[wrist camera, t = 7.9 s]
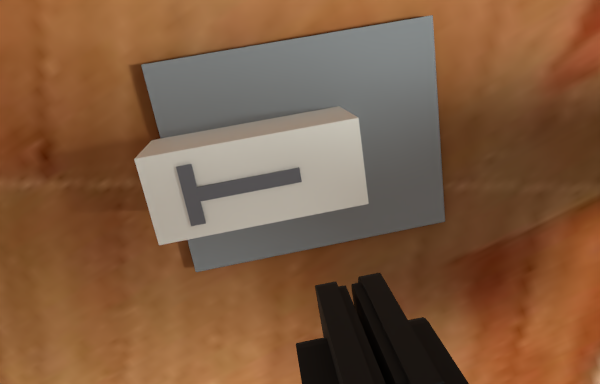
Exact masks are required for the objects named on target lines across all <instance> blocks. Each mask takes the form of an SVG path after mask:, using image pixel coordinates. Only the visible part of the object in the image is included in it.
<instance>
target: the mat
mask: <svg viewBox="0 0 600 384" xmlns="http://www.w3.org/2000/svg"><path fill="white" fill-rule="evenodd" d="M141 66H142V70H143V74H144V78H145V82H146V85H147V89H148V93H149V97H150V101H151V104H152V108H153V112H154V116H155V119H156V123H157V127H158V131H159V135H160V138H167V137H172V136H178V135H183V134H189V133H194V132H200V131H205V130H211V129H216V128H222V127H227V126H233V125H238V124H244V123H249V122H255V121H260V120H266V119H271V118H277V117H282V116H288V115H293V114H299V113H305V112H310V111H316V110H321V109H327V108H332V107H338V106H340V107H341V108H343V109H345V110H346V111H348V112H350V113H351V114H353V115H355V116H356V117H358V118H359V126H360V134H361V143H362V151H363V160H364V168H365V177H366V185H367V194H368V202H369V204H366V205H360V206H355V207H350V208H345V209H340V210H335V211H330V212H325V213H320V214H315V215H310V216H305V217H300V218H295V219H290V220H285V221H280V222H275V223H269V224H264V225H259V226H254V227H249V228H244V229H239V230H234V231H229V232H224V233H219V234H214V235H209V236H204V237H199V238H194V239H189V240H187V241H188V244H189V248H190V252H191V256H192V260H193V263H194V267H195V271H196V272H199V271H204V270H209V269H214V268H219V267H224V266H229V265H234V264H239V263H244V262H249V261H254V260H258V259H263V258H268V257H273V256H278V255H283V254H288V253H293V252H298V251H303V250H308V249H313V248H318V247H323V246H327V245H332V244H337V243H342V242H347V241H352V240H357V239H362V238H367V237H372V236H377V235H382V234H387V233H391V232H396V231H401V230H406V229H411V228H416V227H421V226H426V225H431V224H436V223H441V222H445V211H444V194H443V178H442V162H441V145H440V129H439V112H438V96H437V80H436V63H435V47H434V30H433V15H432V16H426V17H420V18H414V19H408V20H402V21H396V22H390V23H384V24H378V25H372V26H367V27H361V28H355V29H349V30H343V31H337V32H331V33H325V34H319V35H313V36H308V37H302V38H296V39H290V40H284V41H278V42H272V43H266V44H260V45H254V46H249V47H243V48H237V49H231V50H225V51H219V52H213V53H207V54H201V55H196V56H190V57H184V58H178V59H172V60H166V61H160V62H154V63H148V64H142V65H141Z"/></svg>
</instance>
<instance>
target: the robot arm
mask: <svg viewBox="0 0 600 384" xmlns="http://www.w3.org/2000/svg"><path fill="white" fill-rule="evenodd" d="M315 288H316V295H317V301H318V307H319V313H320V318H321V324H322V330H323V336H324V338H320V339H315V340H310V341H305V342H300V343H296V348H297V355H298V361H299V367H300V374H301V380H302V384H469V383H468V382H467V380H466V379H465V377H464V376H463V374H462V373H461V371H460V370H459V368H458V367H457V365H456V363H455V362H454V360H453V359H452V357H451V356H450V354H449V353H448V351H447V350H446V348H445V347H444V345H443V344H442V342H441V341H440V339H439V337H438V336H437V334H436V333H435V331H434V330H433V328H432V327H431V325H430V324H429V322H428V321H427V320H426V318H423V317H422V318H417V319H412V320H407V318H406V316H405V315H404V313H403V311H402V309H401V308H400V306H399V304H398V303H397V301H396V299H395V297H394V296H393V294H392V292H391V291H390V289H389V287H388V285H387V284H386V282H385V280H384V279H383V277H382V275H381V274H380V273H376V274H371V275H366V276H361V277H359V278H358V283H355V284H352V294H353V301H354V305H353V302H352V300H351V297H350V295H349V292H348V290H347V287H346V286H340V287H338V285H337V282H331V283H326V284H321V285H316V286H315Z"/></svg>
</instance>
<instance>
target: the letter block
mask: <svg viewBox="0 0 600 384" xmlns="http://www.w3.org/2000/svg"><path fill="white" fill-rule="evenodd" d="M134 160H135V164H136V167H137V171H138V174H139V178H140V181H141V185H142V188H143V192H144V195H145V198H146V202H147V205H148V209H149V212H150V216H151V219H152V223H153V226H154V230H155V233H156V237H157V240H158V244H159V245H163V244H168V243H173V242H178V241H184V240H189V239H194V238H199V237H204V236H209V235H214V234H219V233H224V232H229V231H234V230H239V229H244V228H249V227H254V226H259V225H264V224H269V223H275V222H280V221H285V220H290V219H295V218H300V217H305V216H310V215H315V214H320V213H325V212H330V211H335V210H340V209H345V208H350V207H355V206H360V205H366V204H369V202H368V194H367V185H366V177H365V168H364V160H363V151H362V143H361V134H360V126H359V118H358V117H356V116H355V115H353V114H351V113H350V112H348V111H346V110H345V109H343V108H341V107H340V106H338V107H332V108H327V109H321V110H316V111H310V112H305V113H299V114H293V115H288V116H282V117H277V118H271V119H266V120H260V121H255V122H249V123H244V124H238V125H233V126H227V127H222V128H216V129H211V130H205V131H200V132H194V133H189V134H183V135H178V136H172V137H167V138H161V139H156V140H151V142H150V143H149V144H148V145H147V146H146V147H145V148H144V149H143V150H142V151H141V152H140V153H139V154H138V155H137V156H136V158H135V159H134Z"/></svg>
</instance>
